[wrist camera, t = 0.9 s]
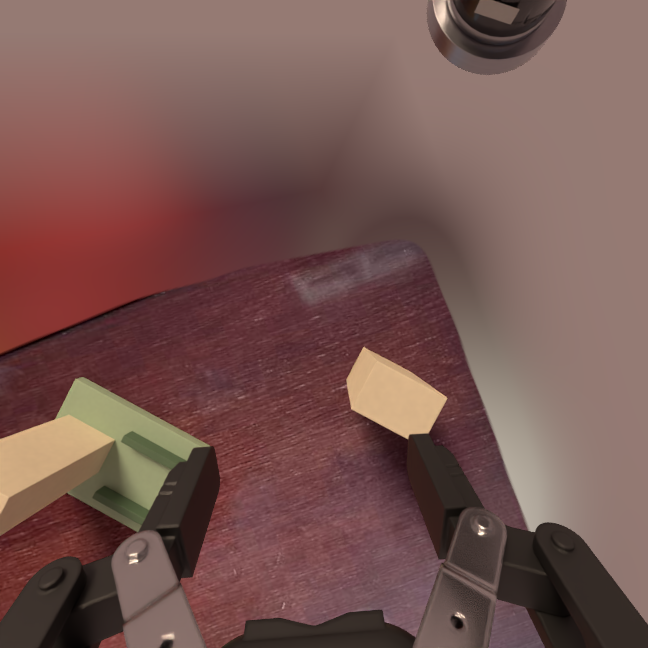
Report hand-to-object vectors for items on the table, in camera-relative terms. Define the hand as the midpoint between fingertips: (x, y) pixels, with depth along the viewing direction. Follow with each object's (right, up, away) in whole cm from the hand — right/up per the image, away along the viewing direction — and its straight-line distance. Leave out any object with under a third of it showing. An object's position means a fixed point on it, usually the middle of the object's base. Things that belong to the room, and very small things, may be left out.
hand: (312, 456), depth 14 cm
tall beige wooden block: (+6, +1, +17) cm, 18 cm away
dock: (-19, -7, +18) cm, 27 cm away
